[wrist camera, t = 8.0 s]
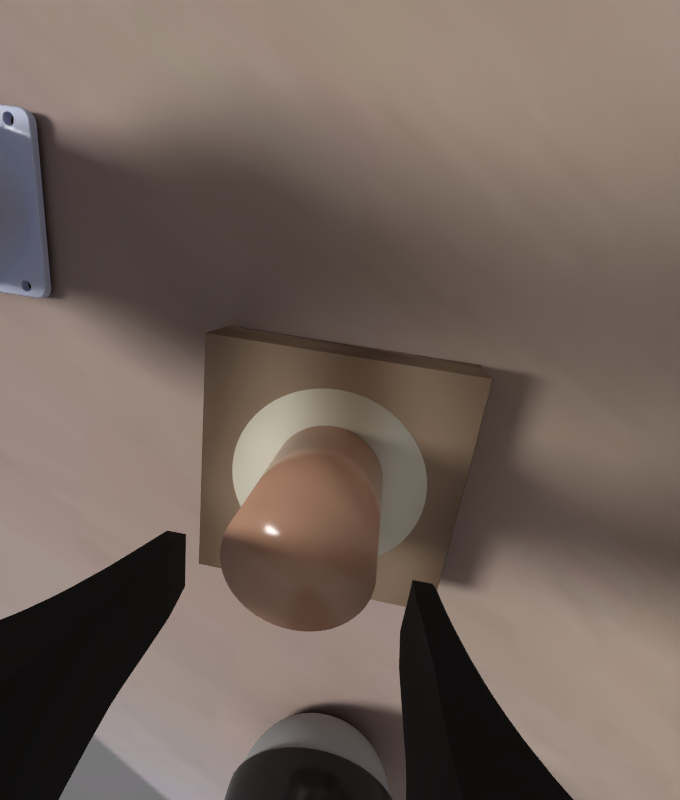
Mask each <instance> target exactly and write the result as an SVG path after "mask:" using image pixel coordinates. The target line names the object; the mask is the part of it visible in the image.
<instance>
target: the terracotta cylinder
mask: <svg viewBox="0 0 680 800" xmlns="http://www.w3.org/2000/svg"><path fill="white" fill-rule="evenodd" d="M382 486H383V473H382V468H381V464H380V462H379V459H378V457H377V455H376V454H375V452H374V451H373V449H372V448H371V447H370V446H369V445H368V444H367V442H366V441H364V440H363V439H362V438H361V437H359V436H358V435H356V434H354V433H353V432H350V431H348V430H346V429H343V428H340V427H335V426H325V425H324V426H314V427H309V428H306V429H303V430H301V431H299V432H297V433H296V434H294V435H293V436H291V437H290V438H289V439H288V440H287V441H286V442H285V443H284V444H283V446H282V447H281V449H280V450H279V451H278V453H277V454H276V456H275V457H274V459H273V460H272V462H271V463H270V465H269V466H268V468H267V469H266V471H265V472H264V474H263V475H262V477H261V478H260V480H259V481H258V483H257V484H256V485H255V487H254V488H253V490H252V491H251V493H250V494H249V496H248V497H247V499H246V500H245V502H244V503H243V505H242V506H241V508H240V509H239V511H238V512H237V514H236V515H235V517H234V518H233V519H232V521H231V522H230V524H229V526H228V527H227V529H226V531H225V533H224V536H223V538H222V542H221V547H220V563H221V568H222V572H223V575H224V577H225V580H226V582H227V584H228V586H229V588H230V589H231V591H232V592H233V594H234V595H235V596H236V597H237V599H238V600H239V601H240V602H241V603H242V604H243V605H244V606H245V607H246V608H247V609H248V610H250V611H251V612H253V613H254V614H255V615H257V616H258V617H260V618H262V619H263V620H265V621H267V622H270V623H272V624H274V625H277V626H280V627H283V628H287V629H291V630H297V631H322V630H327V629H331V628H334V627H337V626H340V625H342V624H344V623H346V622H348V621H350V620H351V619H353V618H354V617H355V616H357V615H358V614H359V613H360V612H361V611H362V610H363V609H364V607H365V606H366V605H367V603H368V602H369V600H370V599H371V596H372V594H373V591H374V588H375V584H376V574H377V560H378V545H379V530H380V516H381V501H382Z"/></svg>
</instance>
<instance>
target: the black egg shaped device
mask: <svg viewBox="0 0 680 800" xmlns="http://www.w3.org/2000/svg"><path fill="white" fill-rule="evenodd" d="M224 800H392V798H391V795H390V790H389V785H388V781H387V778H386V774H385V771H384V769H383V766H382V764H381V761H380V759H379V757H378V755H377V753H376V752H375V750H374V749H373V747H372V746H371V744H370V743H369V742H368V740H367V739H366V738H365V737H364V736H363V735H362V734H361V733H360V732H359V731H358V730H357V729H356V728H354V727H353V726H351V725H350V724H348V723H347V722H345V721H343V720H341V719H339V718H336V717H333V716H330V715H326V714H320V713H302V714H297V715H293V716H290V717H287V718H285V719H283V720H281V721H279V722H278V723H276V724H274V725H273V726H272V727H271V728H269V729H268V730H267V731H266V732H265V733H264V734H263V735H262V736H261V737H260V738H259V739H258V741H257V742H256V743H255V745H254V746H253V747H252V749H251V750H250V752H249V754H248V755H247V757H246V759H245V761H244V762H243V763H242V764H241V765H240V766H239V767H238V768H237V770H236V771H235V773H234V774H233V776H232V778H231V781H230V784H229V786H228V789H227V793H226V796H225V799H224Z"/></svg>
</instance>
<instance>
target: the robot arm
mask: <svg viewBox="0 0 680 800" xmlns="http://www.w3.org/2000/svg"><path fill="white" fill-rule="evenodd" d="M12 116H13V117H14V123H13V124H12V123H11V117H12ZM28 283H30V284H31V289H30V288H29V286H28ZM0 292H3V293H10V294H16V295H22V296H29V297H35V298H44V297H48V296H49V295H50V293H51V281H50V270H49V259H48V247H47V236H46V225H45V214H44V202H43V191H42V180H41V168H40V157H39V146H38V135H37V124H36V120H35V117H34V116H33V114H32V113H31V112H30V111H28V110H26V109H24V108H21V107H17V106H9V105H0ZM185 551H186V534H181V533H176V532H171V531H166V532H165V533H163V534H161V535H159V536H158V537H156V538H155V539H153V540H151V541H150V542H148V543H146V544H145V545H143V546H142V547H140V548H138V549H137V550H135V551H134V552H132V553H130V554H129V555H127V556H125V557H124V558H122V559H120V560H119V561H117V562H115V563H114V564H112V565H110V566H109V567H107V568H105V569H104V570H102V571H100V572H98V573H96V574H95V575H93V576H91V577H89V578H87V579H85V580H84V581H82V582H80V583H78V584H76V585H75V586H73V587H71V588H69V589H67V590H65V591H63V592H61V593H59V594H57V595H55V596H53V597H51V598H49V599H47V600H45V601H43V602H41V603H38V604H36V605H34V606H32V607H30V608H28V609H25V610H23V611H21V612H19V613H16V614H14V615H11V616H9V617H6V618H4V619H1V620H0V800H59V798H60V796H61V794H62V792H63V790H64V788H65V786H66V784H67V782H68V781H69V779H70V777H71V775H72V773H73V771H74V769H75V767H76V766H77V764H78V762H79V760H80V758H81V757H82V755H83V753H84V751H85V749H86V747H87V745H88V744H89V742H90V740H91V738H92V737H93V735H94V733H95V731H96V729H97V728H98V726H99V724H100V722H101V721H102V719H103V717H104V715H105V713H106V712H107V710H108V708H109V706H110V705H111V703H112V702H113V700H114V699H115V697H116V695H117V694H118V692H119V691H120V689H121V688H122V686H123V685H124V683H125V682H126V680H127V679H128V677H129V676H130V674H131V673H132V671H133V670H134V668H135V667H136V665H137V664H138V662H139V661H140V660H141V658H142V657H143V655H144V654H145V652H146V651H147V649H148V648H149V646H150V645H151V643H152V642H153V640H154V639H155V637H156V636H157V634H158V633H159V631H160V630H161V628H162V627H163V625H164V624H165V622H166V621H167V619H168V618H169V616H170V614H171V612H172V610H173V608H174V607H175V605H176V603H177V601H178V599H179V597H180V595H181V593H182V591H183V589H184V587H185ZM399 672H400V687H401V701H402V715H403V728H404V742H405V755H406V800H573V799H572V798H571V796H570V795H569V794H568V793H567V792H566V791H565V790H564V789H563V787H562V786H561V785H560V784H559V783H558V782H557V781H556V779H555V778H554V777H553V776H552V775H551V773H550V772H549V771H548V770H547V768H546V767H545V766H544V765H543V763H542V762H541V761H540V760H539V758H538V757H537V756H536V755H535V753H534V752H533V751H532V750H531V748H530V747H529V746H528V745H527V743H526V742H525V741H524V740H523V738H522V737H521V735H520V734H519V733H518V731H517V730H516V729H515V727H514V726H513V724H512V723H511V722H510V720H509V719H508V717H507V716H506V715H505V713H504V712H503V710H502V709H501V707H500V706H499V704H498V703H497V701H496V700H495V698H494V697H493V695H492V694H491V692H490V691H489V689H488V687H487V686H486V684H485V683H484V681H483V679H482V678H481V676H480V674H479V673H478V671H477V669H476V668H475V666H474V664H473V662H472V661H471V659H470V657H469V655H468V654H467V652H466V650H465V648H464V646H463V644H462V642H461V641H460V639H459V637H458V635H457V633H456V631H455V629H454V627H453V625H452V623H451V621H450V619H449V617H448V615H447V613H446V610H445V608H444V606H443V604H442V602H441V599H440V597H439V595H438V592H437V590H436V588H435V586H434V585H433V584H431V583H426V582H421V581H416V580H412V584H411V589H410V593H409V597H408V601H407V605H406V610H405V614H404V618H403V622H402V626H401V631H400V657H399Z"/></svg>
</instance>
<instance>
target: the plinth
mask: <svg viewBox="0 0 680 800" xmlns="http://www.w3.org/2000/svg"><path fill="white" fill-rule="evenodd" d="M492 380H493V379H492V378H491V377H490V376H489V375H488V373H487V372H486V371H485V370H484V369H483V368H482V367H481V366H480V365H473V364H467V363H461V362H454V361H448V360H442V359H435V358H429V357H422V356H416V355H410V354H403V353H397V352H391V351H384V350H378V349H372V348H365V347H359V346H353V345H346V344H340V343H334V342H327V341H321V340H315V339H308V338H302V337H296V336H289V335H283V334H276V333H270V332H264V331H257V330H251V329H245V328H238V327H232V326H227V327H224V328H221V329H217V330H214V331H211V332H208V333H206V341H205V375H204V409H203V443H202V477H201V511H200V545H199V564H204V565H208V566H213V567H218V568H221V563H220V547H221V542H222V538H223V536H224V533H225V531H226V529H227V527H228V526H229V524H230V522H231V521H232V519H233V518H234V517H235V515H236V514H237V512H238V511H239V509H240V508H241V506H242V505H243V503H244V502H245V500H246V499H247V497H248V496H249V494H250V493H251V491H252V490H253V488H254V487H255V485H256V484H257V483H258V481H259V480H260V478H261V477H262V475H263V474H264V472H265V471H266V469H267V468H268V466H269V465H270V463H271V462H272V460H273V459H274V457H275V456H276V454H277V453H278V451H279V450H280V449H281V447H282V446H283V444H284V443H285V442H286V441H287V440H288V439H289V438H290V437H291V436H293V435H294V434H296V433H297V432H299V431H301V430H303V429H306V428H309V427H314V426H324V425H325V426H335V427H340V428H343V429H346V430H348V431H350V432H353V433H354V434H356V435H358V436H359V437H361V438H362V439H363V440H364V441H366V442H367V444H368V445H369V446H370V447H371V448H372V449H373V451H374V452H375V454H376V455H377V457H378V459H379V462H380V464H381V468H382V473H383V486H382V501H381V516H380V530H379V545H378V560H377V574H376V584H375V588H374V591H373V594H372V596H371V599H372V600H376V601H381V602H386V603H391V604H396V605H400V606H405V607H406V605H407V601H408V597H409V593H410V589H411V584H412V580H416V581H421V582H426V583H431V584H433V585H434V586H435V588H436V590H437V589H438V585H439V581H440V577H441V573H442V570H443V566H444V562H445V558H446V554H447V551H448V547H449V543H450V539H451V535H452V532H453V528H454V524H455V520H456V516H457V513H458V509H459V505H460V501H461V497H462V494H463V490H464V486H465V482H466V478H467V475H468V471H469V467H470V463H471V460H472V456H473V452H474V448H475V444H476V441H477V437H478V433H479V429H480V425H481V422H482V418H483V414H484V410H485V406H486V403H487V399H488V395H489V391H490V387H491V384H492Z"/></svg>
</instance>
